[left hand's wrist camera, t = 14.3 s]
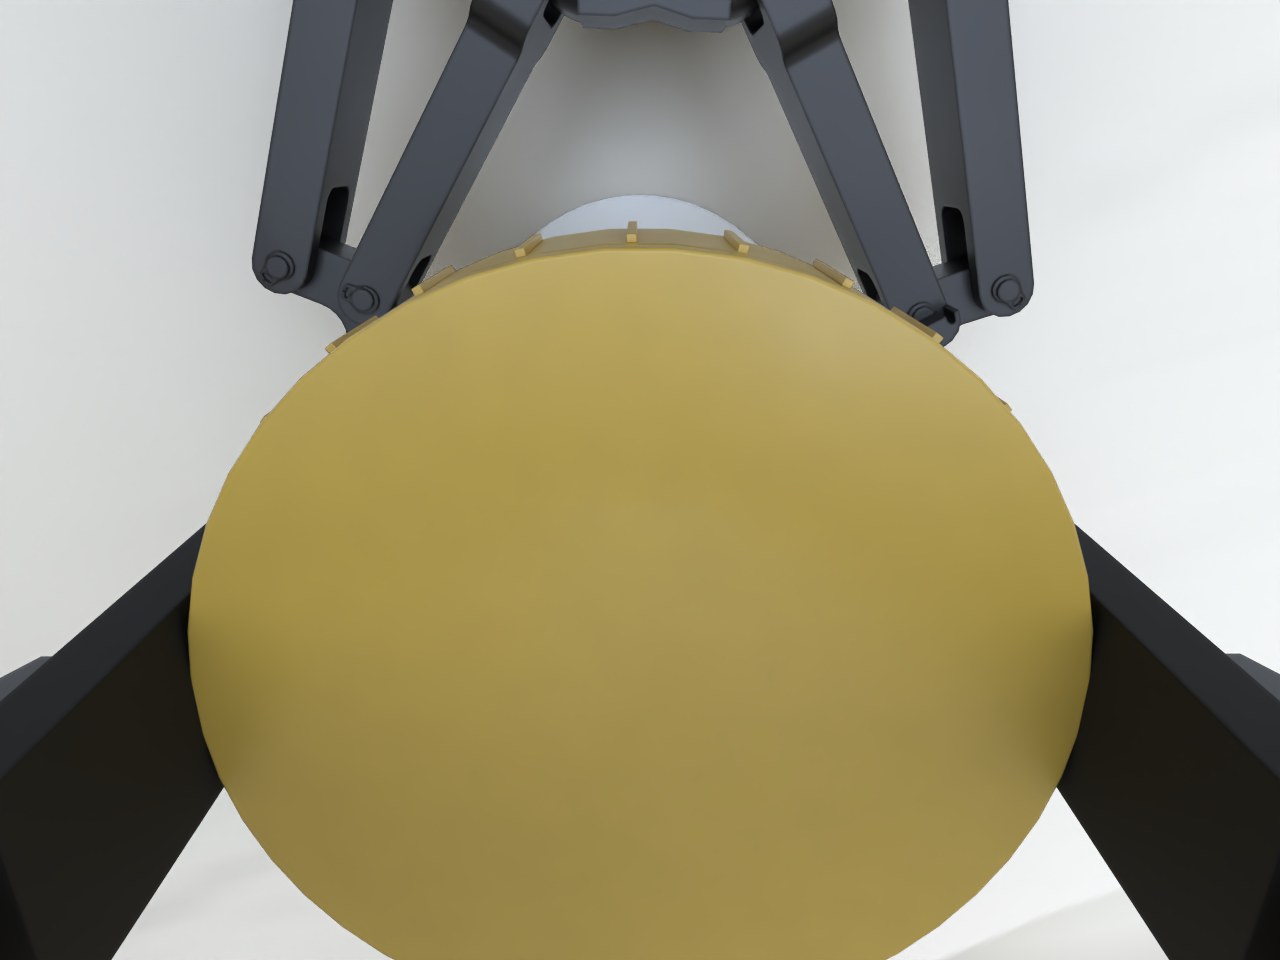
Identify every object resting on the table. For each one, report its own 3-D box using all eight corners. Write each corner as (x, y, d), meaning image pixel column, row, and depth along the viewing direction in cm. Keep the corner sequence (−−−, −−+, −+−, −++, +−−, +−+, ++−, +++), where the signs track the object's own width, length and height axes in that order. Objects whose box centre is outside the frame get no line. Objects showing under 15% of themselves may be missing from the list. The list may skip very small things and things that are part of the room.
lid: (684, 15, 10) (697, -24, 8) (1161, 639, 13) (1268, 740, 10) (105, 579, 12) (-9, 670, 10) (613, 991, 15) (608, 1132, 13)
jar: (655, 119, 25) (687, 60, 8) (861, 374, 27) (1197, 716, 11) (416, 346, 27) (66, 653, 11) (626, 560, 30) (610, 1075, 13)
